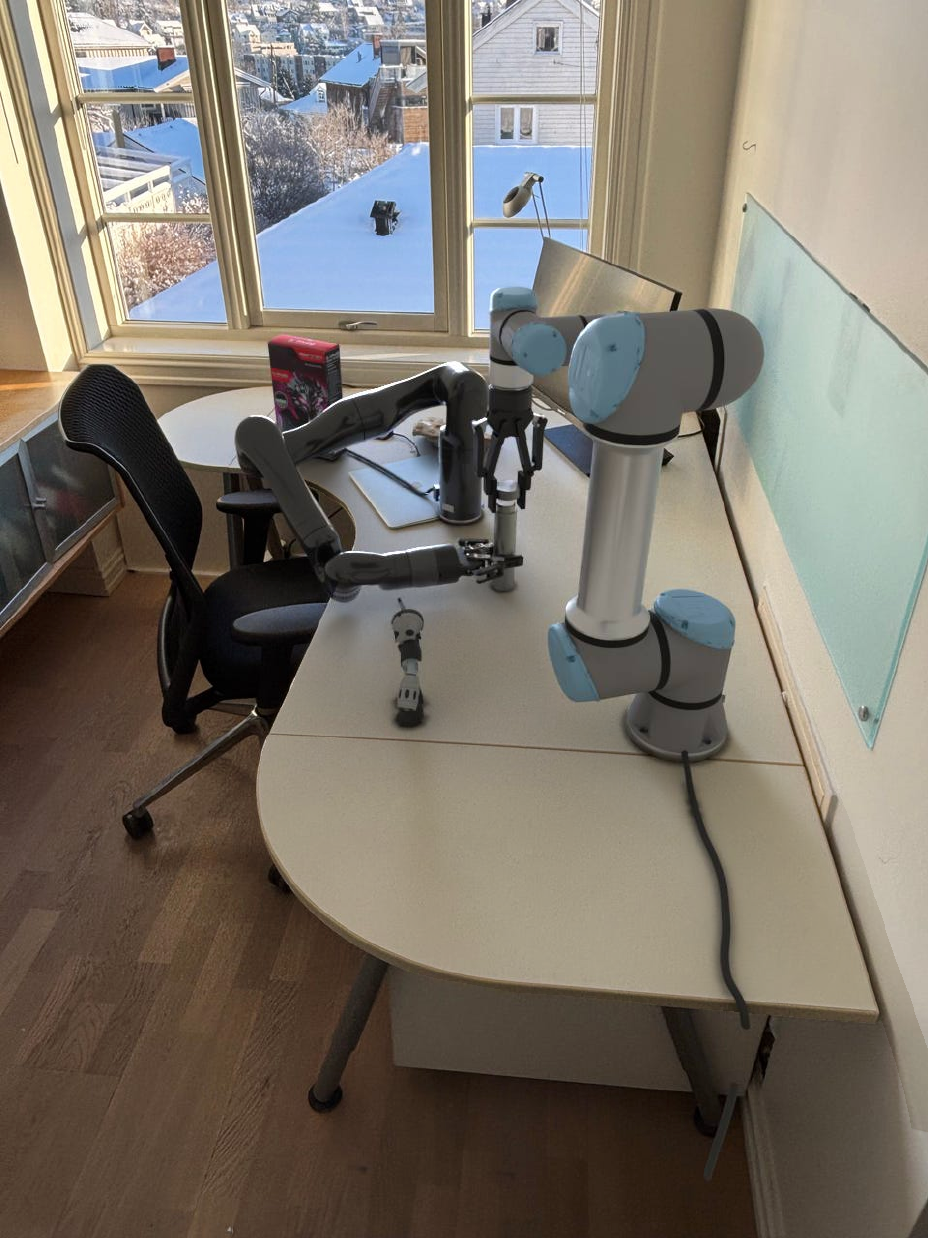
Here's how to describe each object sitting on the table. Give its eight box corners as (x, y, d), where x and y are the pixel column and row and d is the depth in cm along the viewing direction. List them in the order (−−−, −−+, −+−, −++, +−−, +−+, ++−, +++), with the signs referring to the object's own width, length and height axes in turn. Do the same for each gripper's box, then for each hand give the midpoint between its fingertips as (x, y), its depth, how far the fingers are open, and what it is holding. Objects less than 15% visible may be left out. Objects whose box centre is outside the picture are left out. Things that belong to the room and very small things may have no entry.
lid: (525, 498, 166) (525, 488, 165) (501, 503, 164) (501, 493, 163) (512, 487, 170) (512, 478, 169) (488, 492, 168) (489, 483, 167)
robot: (426, 751, 138) (424, 643, 127) (394, 752, 138) (389, 643, 127) (424, 672, 155) (422, 570, 143) (395, 673, 154) (391, 570, 143)
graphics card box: (276, 448, 231) (264, 340, 216) (293, 439, 236) (282, 332, 221) (333, 462, 225) (324, 351, 209) (349, 452, 230) (341, 343, 214)
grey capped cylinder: (488, 584, 179) (490, 500, 169) (505, 578, 181) (508, 494, 171) (500, 593, 176) (503, 508, 166) (518, 587, 178) (522, 503, 168)
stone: (396, 441, 228) (401, 417, 225) (415, 432, 241) (420, 409, 239) (476, 465, 224) (482, 442, 222) (491, 455, 237) (496, 432, 235)
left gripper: (422, 564, 179) (506, 552, 183) (440, 602, 168) (529, 589, 172) (421, 530, 175) (507, 519, 179) (440, 567, 163) (531, 554, 167)
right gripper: (552, 372, 161) (545, 493, 174) (453, 381, 157) (453, 505, 169) (568, 386, 155) (559, 510, 168) (466, 395, 151) (465, 523, 163)
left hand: (517, 553), depth 175 cm, fingers closed on grey capped cylinder, 4 cm apart
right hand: (506, 507), depth 169 cm, fingers closed on lid, 5 cm apart
